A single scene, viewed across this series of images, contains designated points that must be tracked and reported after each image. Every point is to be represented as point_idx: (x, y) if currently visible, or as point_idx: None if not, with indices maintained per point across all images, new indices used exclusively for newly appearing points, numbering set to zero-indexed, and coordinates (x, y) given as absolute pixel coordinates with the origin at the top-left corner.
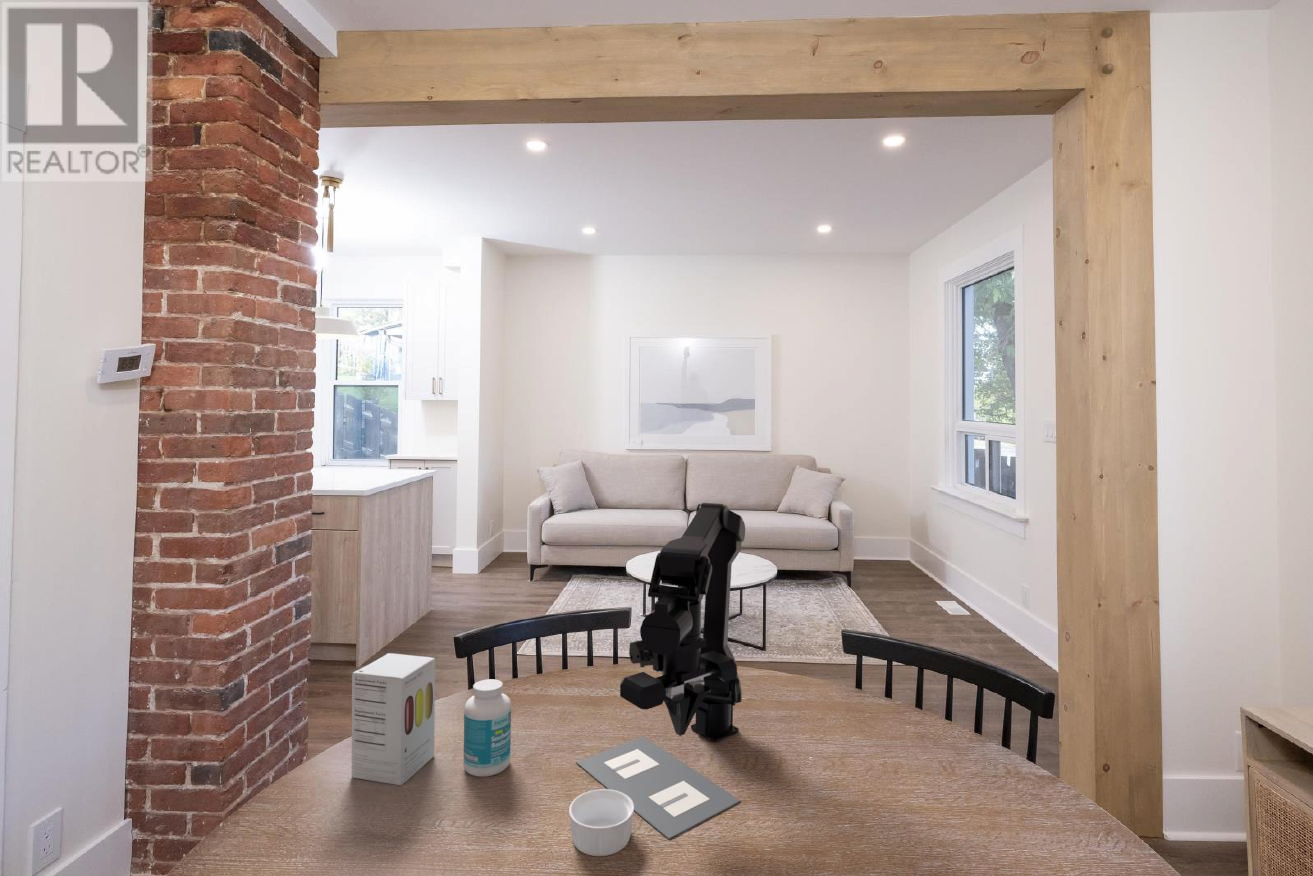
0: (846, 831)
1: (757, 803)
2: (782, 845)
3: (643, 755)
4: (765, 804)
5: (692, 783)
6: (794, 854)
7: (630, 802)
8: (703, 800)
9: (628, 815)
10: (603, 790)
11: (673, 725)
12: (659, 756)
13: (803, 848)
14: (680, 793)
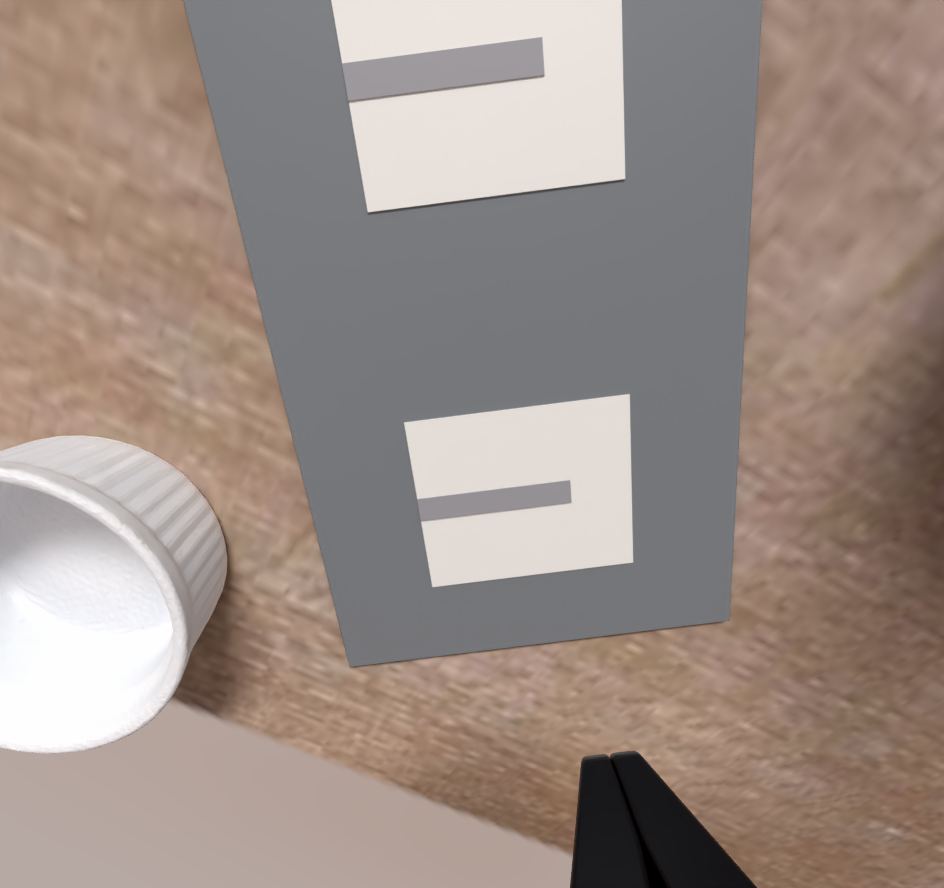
0: (863, 846)
1: (770, 648)
2: None
3: (603, 12)
4: (788, 664)
5: (652, 432)
6: None
7: (173, 648)
8: (603, 559)
9: (160, 665)
10: (58, 496)
11: (576, 838)
12: (683, 87)
13: None
14: (551, 473)
